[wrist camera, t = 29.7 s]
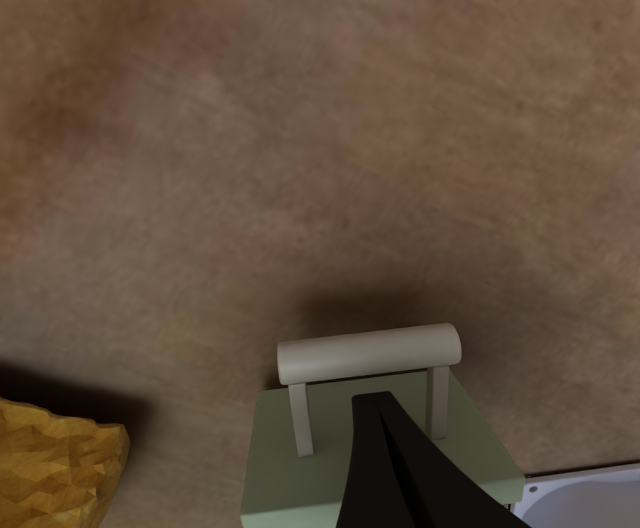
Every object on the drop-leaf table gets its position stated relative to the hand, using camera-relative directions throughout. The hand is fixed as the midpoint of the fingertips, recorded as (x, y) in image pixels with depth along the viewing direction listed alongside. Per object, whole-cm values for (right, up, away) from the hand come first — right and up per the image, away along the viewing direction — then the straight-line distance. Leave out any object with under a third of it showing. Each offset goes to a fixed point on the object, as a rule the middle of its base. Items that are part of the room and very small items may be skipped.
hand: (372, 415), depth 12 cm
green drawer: (0, -3, +6) cm, 6 cm away
